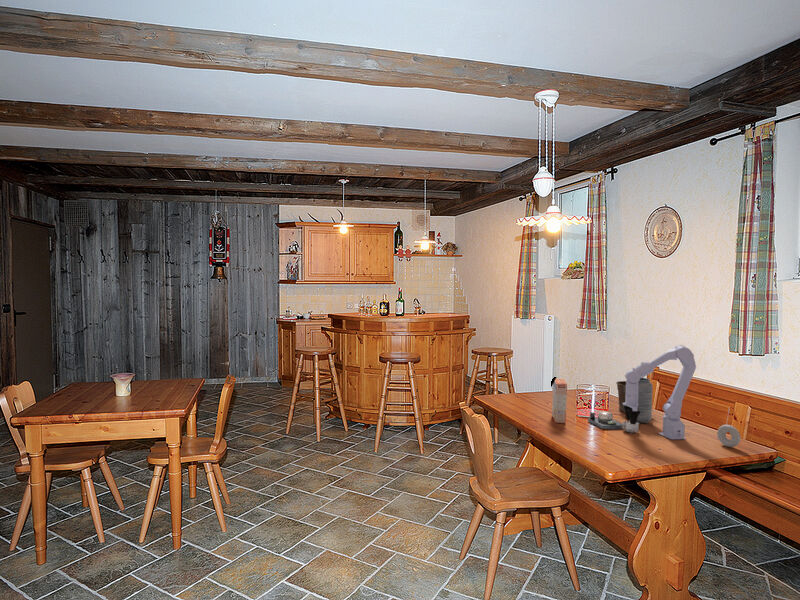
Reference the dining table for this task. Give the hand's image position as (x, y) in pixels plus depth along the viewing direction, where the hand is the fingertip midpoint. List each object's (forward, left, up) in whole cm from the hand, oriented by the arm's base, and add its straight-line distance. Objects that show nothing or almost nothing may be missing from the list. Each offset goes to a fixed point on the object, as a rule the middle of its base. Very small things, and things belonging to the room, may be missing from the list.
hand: (631, 422), depth 248 cm
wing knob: (0, 0, -5) cm, 5 cm away
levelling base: (+12, +6, -5) cm, 14 cm away
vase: (+17, -16, -5) cm, 24 cm away
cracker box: (+24, +26, -5) cm, 36 cm away
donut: (-25, -32, -5) cm, 41 cm away
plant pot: (+37, -24, -5) cm, 44 cm away
